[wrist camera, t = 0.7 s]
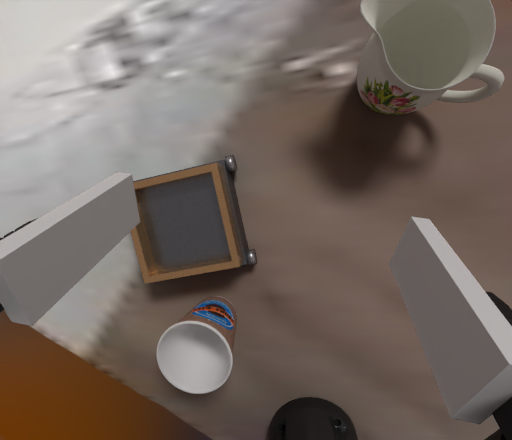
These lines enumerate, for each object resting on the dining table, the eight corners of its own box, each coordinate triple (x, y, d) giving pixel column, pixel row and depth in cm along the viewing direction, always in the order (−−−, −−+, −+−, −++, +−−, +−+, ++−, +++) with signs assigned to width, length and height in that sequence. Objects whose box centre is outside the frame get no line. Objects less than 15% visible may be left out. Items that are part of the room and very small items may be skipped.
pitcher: (431, 147, 39) (510, 127, 25) (318, 101, 40) (336, 57, 26) (470, 73, 37) (578, 8, 23) (351, 27, 38) (388, -62, 24)
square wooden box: (258, 259, 44) (253, 272, 37) (163, 277, 46) (143, 291, 40) (235, 156, 42) (226, 151, 36) (137, 179, 44) (113, 178, 38)
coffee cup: (255, 300, 45) (244, 341, 33) (233, 350, 46) (215, 406, 35) (200, 276, 45) (170, 309, 34) (181, 327, 47) (146, 374, 35)
